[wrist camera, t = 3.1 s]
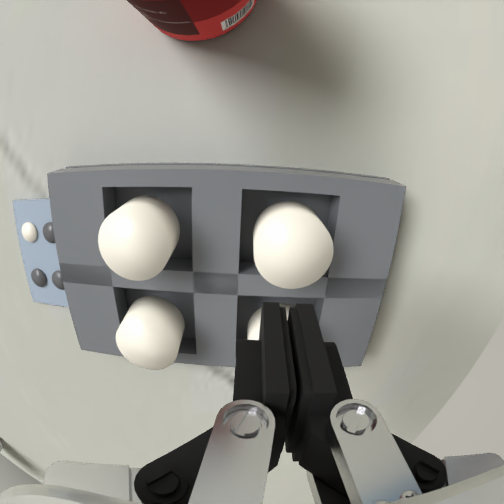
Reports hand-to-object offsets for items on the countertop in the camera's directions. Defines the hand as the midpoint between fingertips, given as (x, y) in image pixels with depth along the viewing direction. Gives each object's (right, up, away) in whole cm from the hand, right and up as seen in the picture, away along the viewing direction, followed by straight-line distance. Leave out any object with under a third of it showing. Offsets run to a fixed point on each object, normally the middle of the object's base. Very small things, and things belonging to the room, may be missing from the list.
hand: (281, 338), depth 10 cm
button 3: (+1, +4, +9) cm, 10 cm away
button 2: (-8, -2, +12) cm, 15 cm away
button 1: (-8, +4, +9) cm, 13 cm away
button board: (-7, +2, +13) cm, 15 cm away
